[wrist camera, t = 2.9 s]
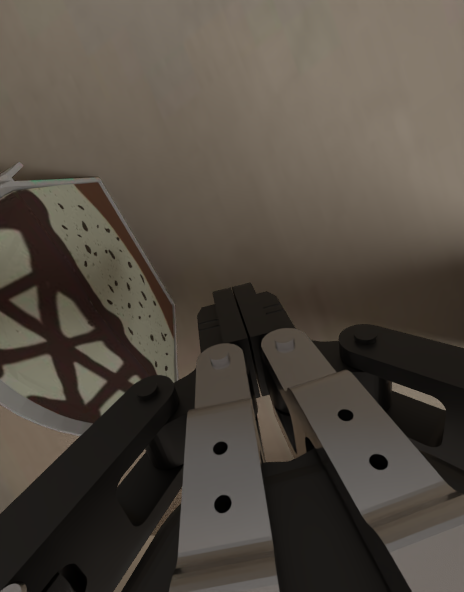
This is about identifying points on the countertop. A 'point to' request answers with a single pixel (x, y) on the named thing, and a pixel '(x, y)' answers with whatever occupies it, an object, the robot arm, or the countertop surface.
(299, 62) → the countertop surface
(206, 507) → the robot arm
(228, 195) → the countertop surface
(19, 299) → the food container
